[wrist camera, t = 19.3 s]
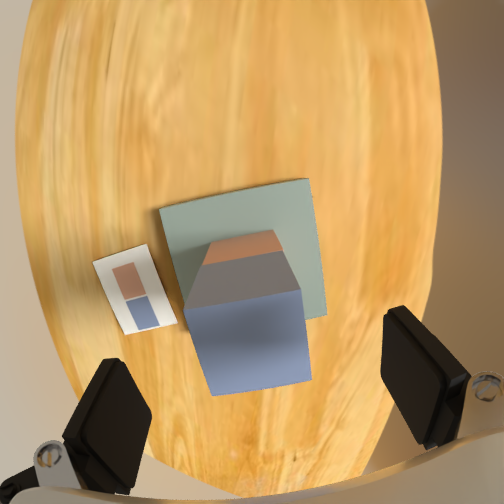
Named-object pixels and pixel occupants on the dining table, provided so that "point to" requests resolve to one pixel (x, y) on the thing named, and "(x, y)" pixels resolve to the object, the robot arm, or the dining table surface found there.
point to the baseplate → (250, 232)
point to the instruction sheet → (135, 290)
